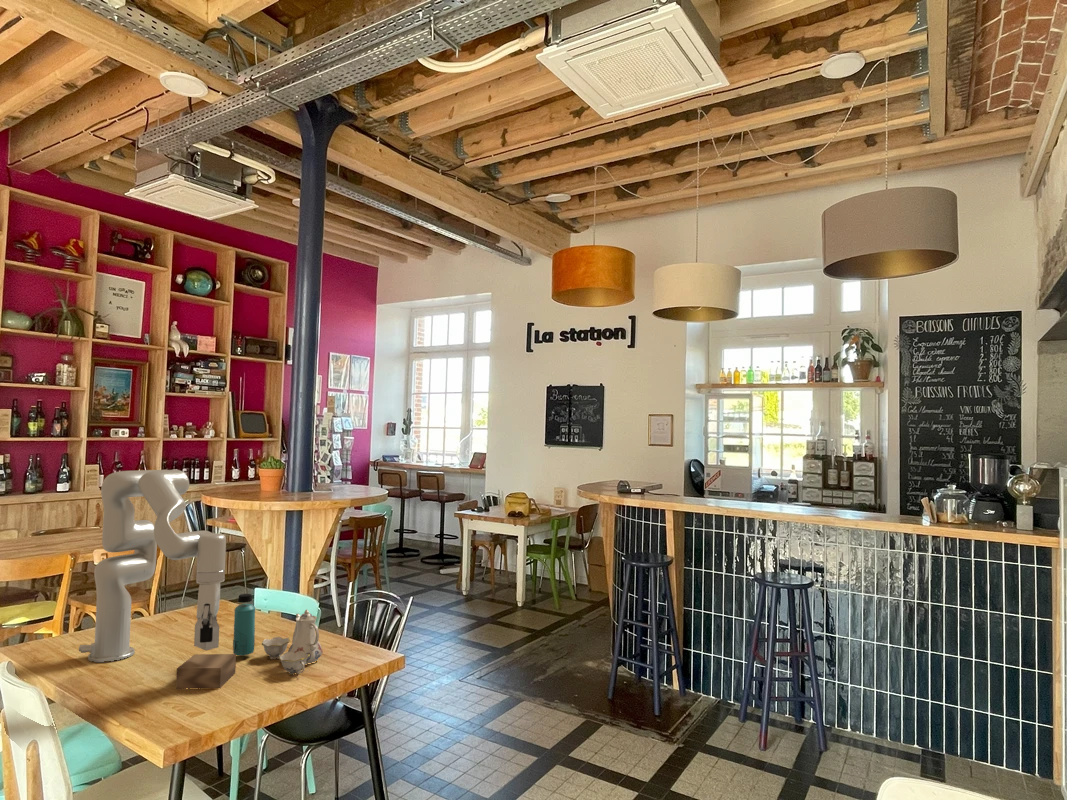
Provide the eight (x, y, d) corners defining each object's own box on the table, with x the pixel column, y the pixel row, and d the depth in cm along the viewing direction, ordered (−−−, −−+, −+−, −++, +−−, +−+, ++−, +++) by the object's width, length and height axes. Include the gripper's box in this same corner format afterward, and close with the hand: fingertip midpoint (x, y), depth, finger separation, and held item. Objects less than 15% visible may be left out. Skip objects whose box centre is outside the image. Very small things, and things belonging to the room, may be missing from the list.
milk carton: (205, 650, 189) (207, 615, 189) (194, 645, 193) (195, 611, 193) (218, 647, 192) (219, 612, 192) (206, 642, 196) (207, 608, 196)
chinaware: (253, 662, 213) (249, 611, 212) (302, 645, 224) (299, 597, 224) (290, 687, 193) (286, 630, 192) (342, 667, 204) (339, 614, 204)
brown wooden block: (175, 690, 185) (176, 668, 186) (193, 674, 197) (194, 654, 198) (220, 689, 186) (220, 667, 187) (235, 674, 198) (236, 653, 199)
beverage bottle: (258, 655, 214) (261, 593, 215) (243, 661, 208) (246, 597, 209) (242, 652, 217) (245, 591, 218) (227, 659, 210) (229, 595, 211)
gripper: (201, 571, 201) (199, 630, 200) (191, 583, 184) (188, 648, 183) (228, 570, 203) (226, 628, 202) (220, 582, 186) (218, 645, 185)
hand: (208, 637), depth 192 cm, fingers closed on milk carton, 7 cm apart
